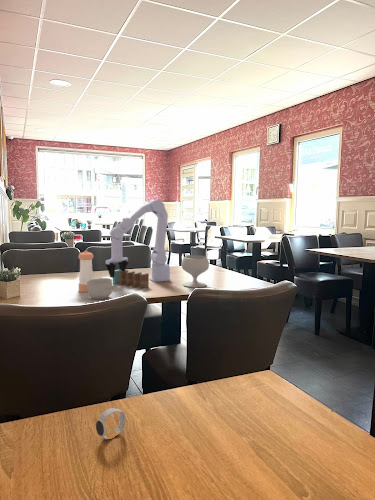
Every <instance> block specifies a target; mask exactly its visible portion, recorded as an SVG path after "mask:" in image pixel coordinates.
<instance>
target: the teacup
mask: <svg viewBox="0 0 375 500" xmlns="http://www.w3.org/2000/svg"><path fill="white" fill-rule="evenodd" d="M87 288H88V292H87V294H88V296H89V297H90V298H92V299H93V300H105V299H108V298H109V297H110V296H111V295H112V292H113V278H110V277H109V278H106V277H98V278H93V279H92V280H89V281H87Z"/></svg>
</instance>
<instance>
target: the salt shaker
mask: <svg viewBox="0 0 375 500" xmlns="http://www.w3.org/2000/svg"><path fill="white" fill-rule="evenodd" d="M77 257H78V259H79V276H78V280H79V283H78V292H80V293H88V288H87V281H89V280H92V279H94V273H93V272H94V271H93V262H92V261H93V259H94V257H95V256H94V254H93V253H92V252H90V251H88V250H84V251H83V252H80V253H79V254H78V256H77Z"/></svg>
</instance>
